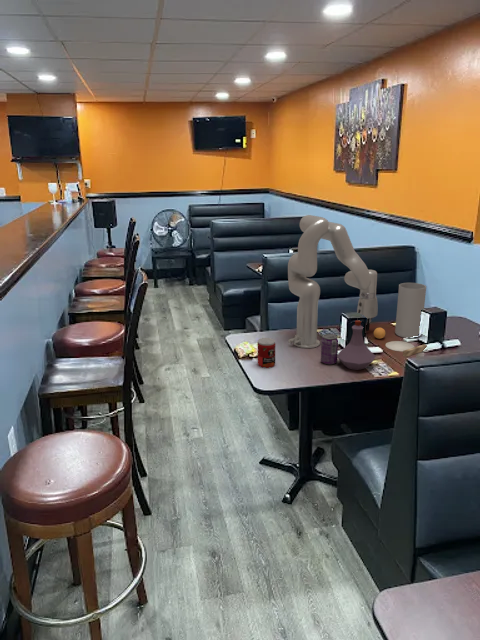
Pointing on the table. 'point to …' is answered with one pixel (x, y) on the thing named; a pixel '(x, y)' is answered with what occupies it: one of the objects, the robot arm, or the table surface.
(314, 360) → the table surface
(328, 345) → the beverage can
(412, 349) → the stopper rail
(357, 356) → the flask
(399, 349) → the mark
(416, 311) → the cylinder vase
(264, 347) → the canned food
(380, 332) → the ball
